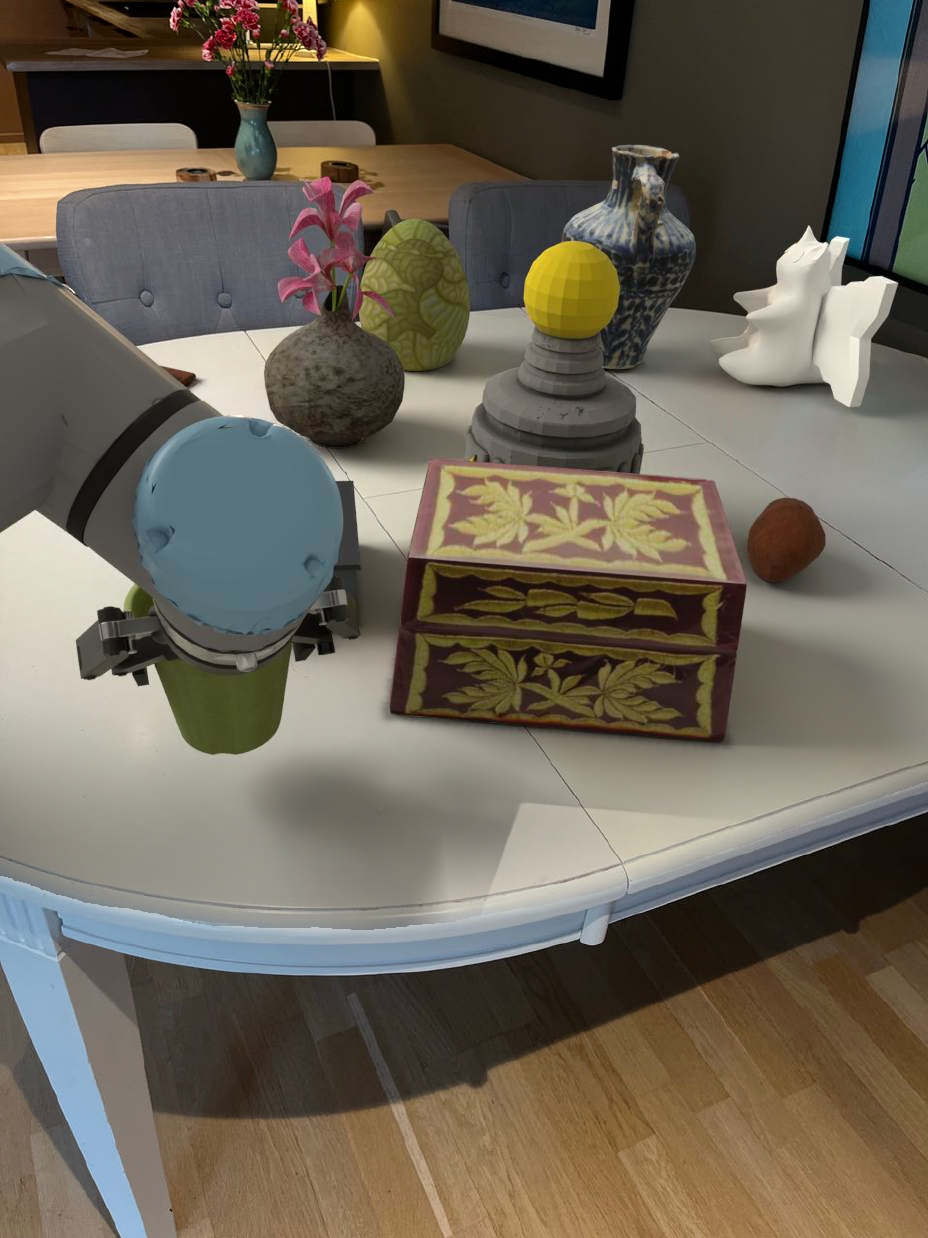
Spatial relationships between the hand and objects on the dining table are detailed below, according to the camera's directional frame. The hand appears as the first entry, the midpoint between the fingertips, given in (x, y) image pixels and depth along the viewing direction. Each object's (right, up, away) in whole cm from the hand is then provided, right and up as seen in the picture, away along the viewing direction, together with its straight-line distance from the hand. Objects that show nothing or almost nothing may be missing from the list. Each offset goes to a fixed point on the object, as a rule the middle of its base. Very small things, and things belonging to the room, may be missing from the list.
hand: (221, 654), depth 69 cm
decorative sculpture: (+10, +42, +76) cm, 87 cm away
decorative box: (+26, -1, +16) cm, 31 cm away
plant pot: (+1, -5, 0) cm, 5 cm away
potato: (+51, +8, +31) cm, 60 cm away
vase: (+2, +26, +53) cm, 59 cm away
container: (-1, +6, +24) cm, 25 cm away
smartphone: (-26, +33, +60) cm, 74 cm away
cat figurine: (+66, +39, +76) cm, 108 cm away
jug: (+41, +43, +79) cm, 99 cm away
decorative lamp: (+27, +13, +36) cm, 47 cm away
